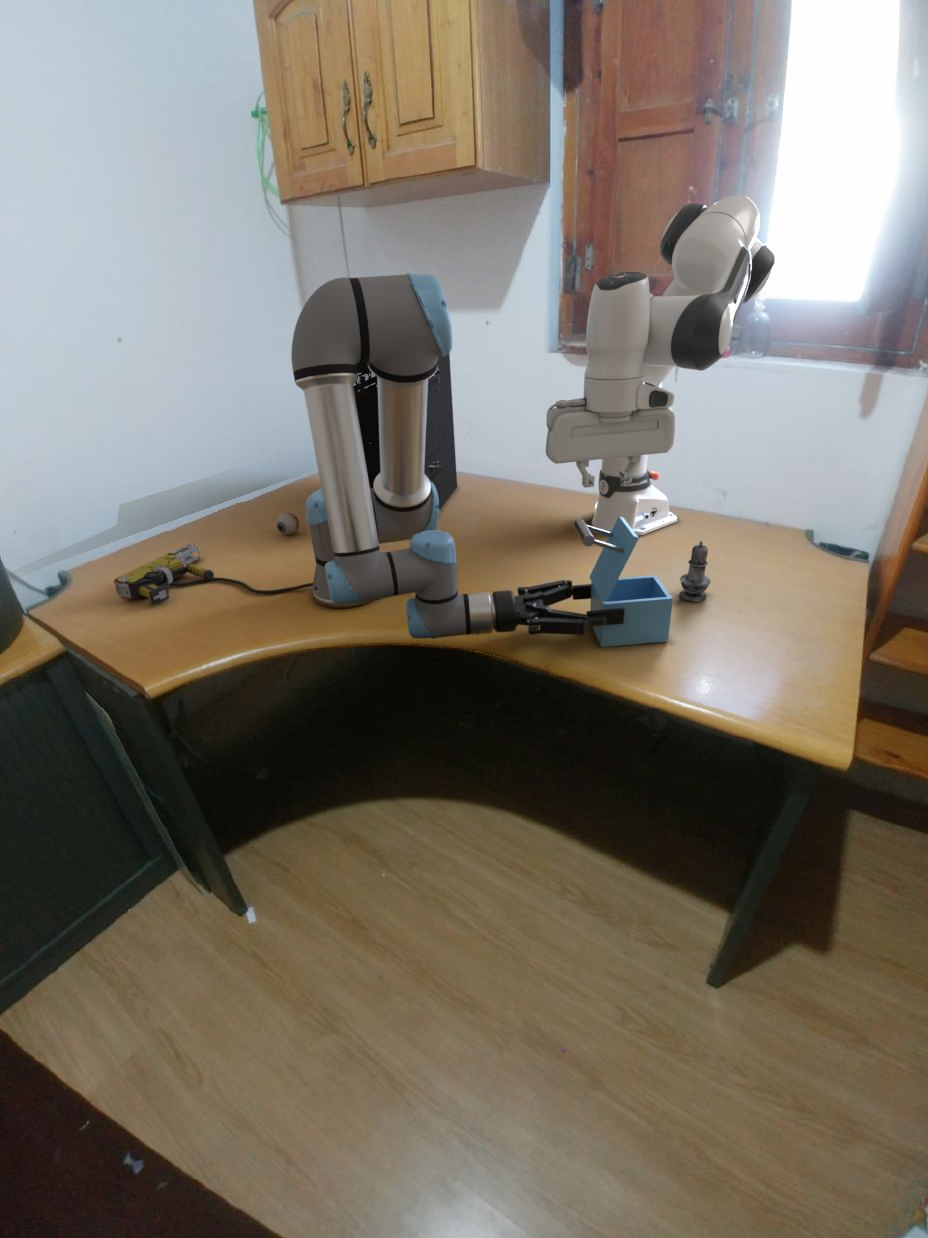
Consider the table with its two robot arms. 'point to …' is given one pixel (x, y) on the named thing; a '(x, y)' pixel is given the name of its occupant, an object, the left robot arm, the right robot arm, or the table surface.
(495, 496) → the table surface
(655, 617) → the chest
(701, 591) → the dark grey turned figure
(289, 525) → the eyeball
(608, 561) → the lid
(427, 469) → the dark boxy piece
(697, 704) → the table surface
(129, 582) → the toy gun
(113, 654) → the table surface
